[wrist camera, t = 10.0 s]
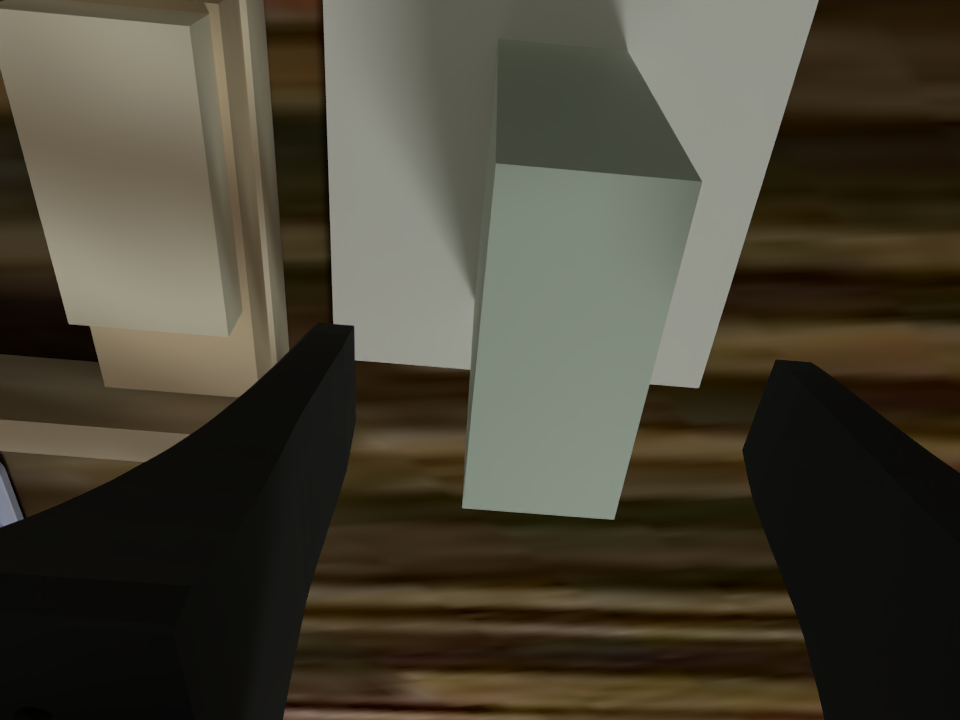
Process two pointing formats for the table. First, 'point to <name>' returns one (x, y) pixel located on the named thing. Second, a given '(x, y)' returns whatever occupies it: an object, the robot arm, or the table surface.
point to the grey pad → (465, 139)
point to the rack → (145, 217)
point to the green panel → (570, 277)
